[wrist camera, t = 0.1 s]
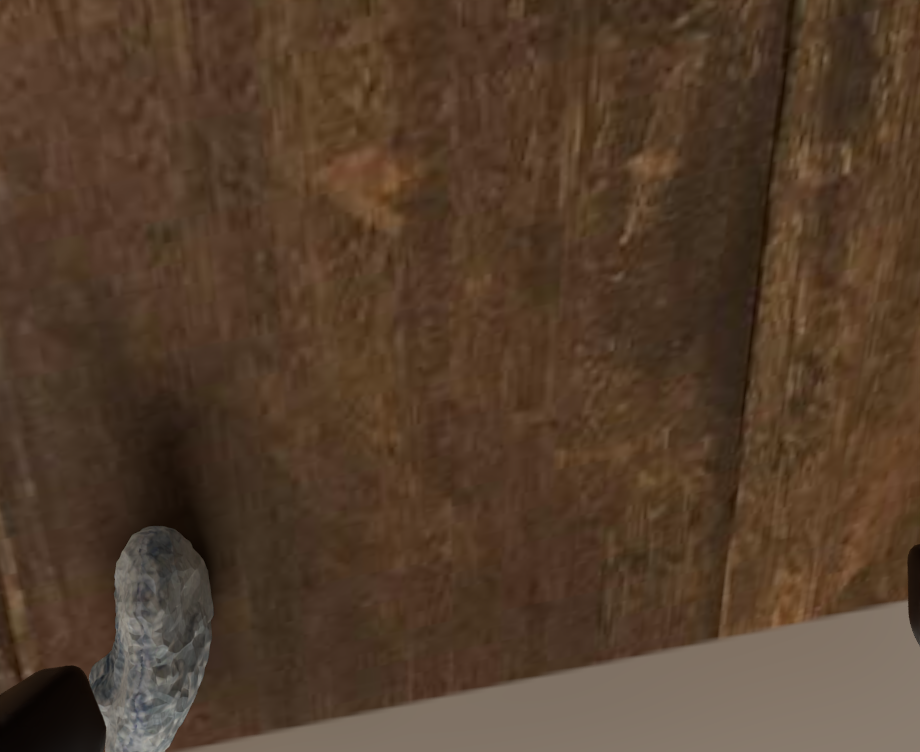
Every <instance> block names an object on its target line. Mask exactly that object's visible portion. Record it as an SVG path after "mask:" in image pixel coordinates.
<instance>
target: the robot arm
mask: <svg viewBox="0 0 920 752" xmlns="http://www.w3.org/2000/svg"><path fill="white" fill-rule="evenodd" d="M908 607H909V619H910V624H911V628H912V631H913V633H914V636H915V638H916V640H917V642H918V644H919V645H920V544H918V545H915V546H914V547H913V548H912V549H911V550H910V551H909V555H908ZM105 742H106V725H105V721H104V718H103V716H102V713H101V711H100V709H99V706H98V704H97V701H96V699H95V696H94V694H93V691H92V689H91V687H90V684H89V682H88V679H87V677H86V675H85V673H84V672H83V671H82V670H81V669H80V668H79V667H76V666H72V665H71V666H64V667H56V668H49V669H43V670H41V671H38V672H36V673H34V674H33V675H31V676H29V677H28V678H26V679H25V680H23V681H21V682H20V683H18V684H17V685H15V686H13V687H12V688H10V689H9V690H7V691H5V692H4V693H2V694H0V752H103V750H104V747H105Z"/></svg>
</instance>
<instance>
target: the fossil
mask: <svg viewBox="0 0 920 752" xmlns="http://www.w3.org/2000/svg"><path fill="white" fill-rule="evenodd" d="M114 577H115V588H116V590H115V592H114V597H115V602H116V618H115V621H116V625H115V628H116V637H115V642H114V644H113V649H112V651H111V652H110V653H109V654H107V655H106V657H104V658H103V659H101V660H100V661H98V662H97V663H95V665H94V666H93V667H92V669H91V673H90V675H89V680H90V685H91V686H90V687H91V689H92V691H93V694H94V696H95V699H96V701H97V704H98V706H99V709H100V711H101V713H102V716H103V718H104V721H105V725H106V726H107V730H106V742H105V744H106V747H105V752H164V751H165V750H166V749H167V748H168V747H169V746H170V744H171V742H172V740H173V738H174V735H175V733H176V731H177V729H178V727H179V726H181V725H182V723H183V721H184V719H185V717H186V715H187V713H188V711H189V709H190V707H191V705H192V703H193V701H194V698H195V696H196V694H197V690H198V687H199V686H200V683H201V680H202V678H203V676H204V669H205V666H206V664H207V662H208V657H209V648H210V643H211V640H212V632H211V619H212V618H213V616H214V612H213V603H212V598H211V590H210V583H209V576H208V570H207V568H206V565H205V563H204V560H203V559H202V557H201V556H200V555H199V554H198V553H197V552H196V551H195V550H194V549H193V548H192V544H191V543H190V541H188V540H187V539H185V538H184V537H183V536H182V534H180V533H179V532H178V531H176V530H175V529H173V528H167V527H165V526H150V527H146V528H143V529H142V530H141V531H140V532H137V533H135V534H133V535H132V536H131V538H130V540H129V541H128V543H127V545H126V546H125V548H124V550H123V551H122V553H121V556H120V558H119V560H118V561H117V562H116V571H115V575H114Z"/></svg>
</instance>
